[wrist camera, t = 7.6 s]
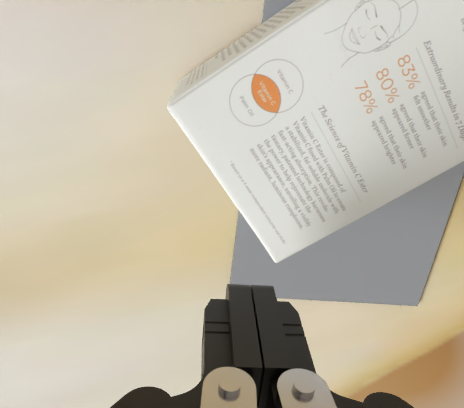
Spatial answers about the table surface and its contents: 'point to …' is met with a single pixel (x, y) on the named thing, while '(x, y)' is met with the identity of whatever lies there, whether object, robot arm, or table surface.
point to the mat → (357, 246)
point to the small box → (329, 112)
